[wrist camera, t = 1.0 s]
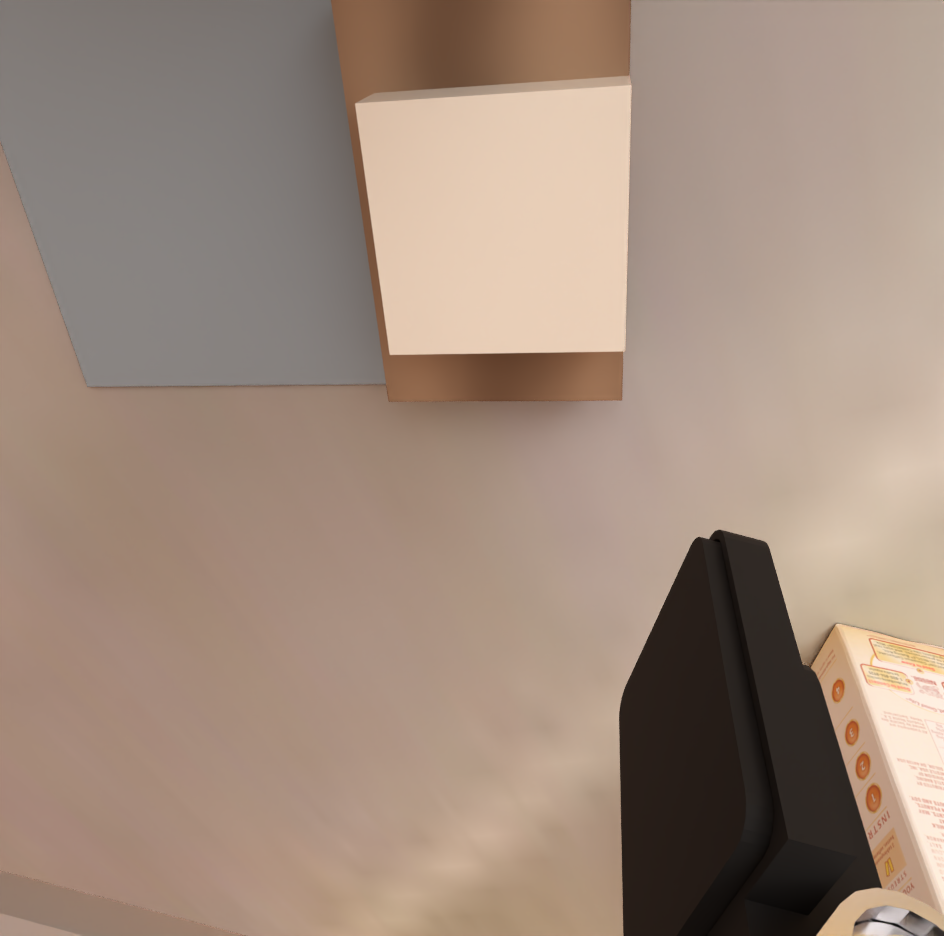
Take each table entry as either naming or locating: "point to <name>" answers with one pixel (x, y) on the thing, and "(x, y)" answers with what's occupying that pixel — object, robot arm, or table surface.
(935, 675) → the coffeecake box
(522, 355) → the board
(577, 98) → the cream coaster
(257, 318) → the slate mat
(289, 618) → the table surface
